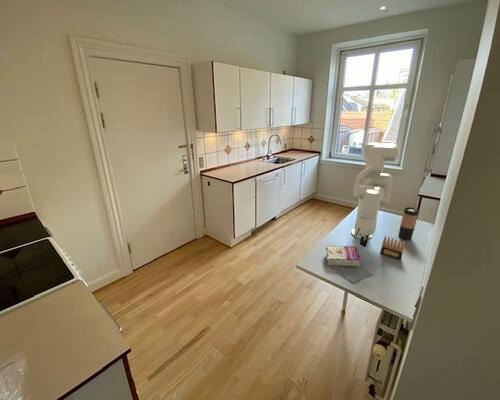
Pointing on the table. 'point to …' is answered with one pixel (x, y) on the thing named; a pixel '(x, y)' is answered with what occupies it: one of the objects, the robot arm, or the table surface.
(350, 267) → the mat
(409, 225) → the travel mug
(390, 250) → the ammunition clip
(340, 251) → the candy bar box
